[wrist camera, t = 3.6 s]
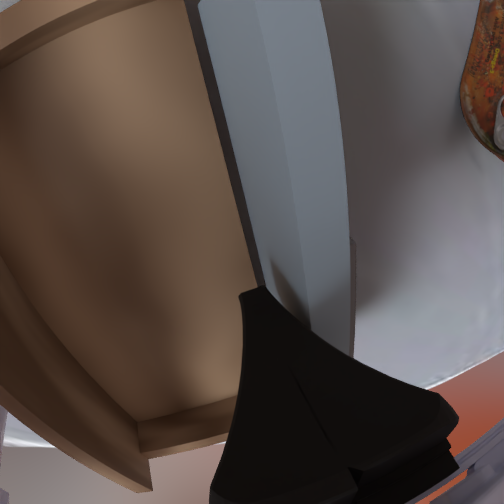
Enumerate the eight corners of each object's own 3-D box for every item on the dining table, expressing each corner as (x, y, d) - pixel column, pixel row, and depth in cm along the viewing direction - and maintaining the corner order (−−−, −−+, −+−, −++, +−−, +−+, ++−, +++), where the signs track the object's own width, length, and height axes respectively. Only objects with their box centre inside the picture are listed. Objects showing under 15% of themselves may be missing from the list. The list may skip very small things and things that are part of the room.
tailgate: (286, 372, 20) (322, 451, 15) (197, 5, 8) (239, -58, 3) (309, 363, 20) (348, 439, 15) (243, -3, 8) (324, -58, 4)
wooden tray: (129, 409, 21) (137, 492, 15) (-60, 99, 8) (-161, 141, 2) (275, 366, 22) (310, 449, 17) (172, -19, 9) (190, -99, 3)
